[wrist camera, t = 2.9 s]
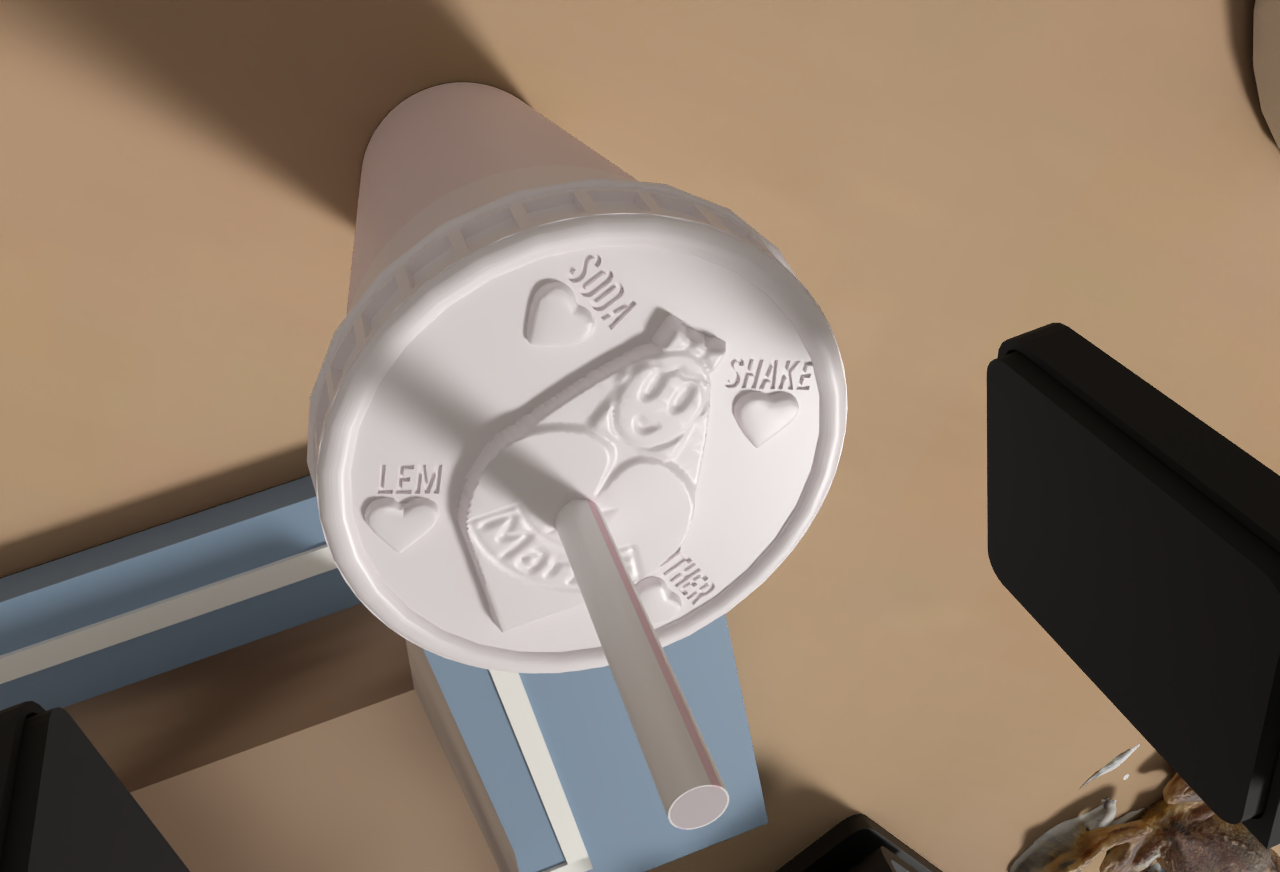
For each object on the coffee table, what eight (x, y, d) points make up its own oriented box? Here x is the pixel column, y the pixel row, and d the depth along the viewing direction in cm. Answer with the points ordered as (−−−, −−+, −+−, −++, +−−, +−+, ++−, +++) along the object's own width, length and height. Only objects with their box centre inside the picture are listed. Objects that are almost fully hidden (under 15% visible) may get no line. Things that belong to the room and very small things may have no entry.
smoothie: (220, 255, 20) (197, 967, 9) (385, -79, 18) (636, 293, 7) (523, 383, 23) (791, 1021, 12) (693, 114, 21) (1208, 582, 10)
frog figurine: (1346, 730, 43) (1431, 809, 40) (1129, 927, 46) (1192, 1014, 43) (1190, 654, 37) (1277, 740, 34) (957, 887, 41) (1015, 984, 38)
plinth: (396, 591, 24) (414, 689, 22) (514, 852, 30) (538, 953, 28) (-76, 756, 23) (-113, 880, 20) (144, 996, 29) (135, 1114, 26)
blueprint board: (664, 357, 24) (677, 377, 23) (758, 801, 33) (769, 825, 32) (-317, 683, 21) (-336, 718, 21) (87, 1064, 31) (83, 1097, 30)
